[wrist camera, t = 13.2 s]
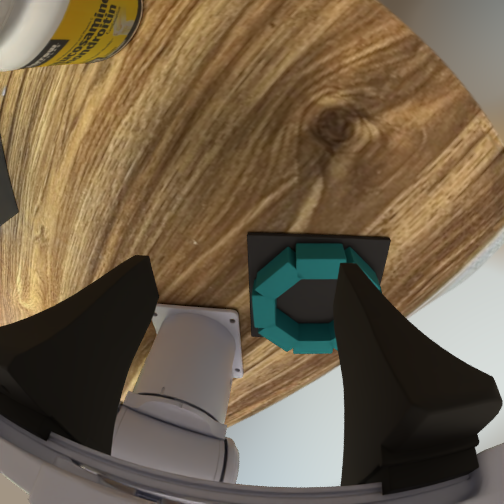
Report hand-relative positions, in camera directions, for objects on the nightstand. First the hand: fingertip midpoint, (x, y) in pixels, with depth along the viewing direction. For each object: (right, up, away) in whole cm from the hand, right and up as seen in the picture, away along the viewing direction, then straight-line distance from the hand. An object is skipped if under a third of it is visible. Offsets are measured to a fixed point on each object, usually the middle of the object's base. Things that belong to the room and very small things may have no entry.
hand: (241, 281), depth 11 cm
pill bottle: (-9, +16, +2) cm, 19 cm away
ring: (+5, -2, +11) cm, 13 cm away
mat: (+5, -2, +12) cm, 13 cm away
